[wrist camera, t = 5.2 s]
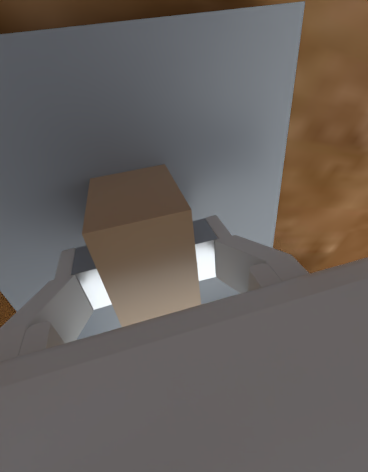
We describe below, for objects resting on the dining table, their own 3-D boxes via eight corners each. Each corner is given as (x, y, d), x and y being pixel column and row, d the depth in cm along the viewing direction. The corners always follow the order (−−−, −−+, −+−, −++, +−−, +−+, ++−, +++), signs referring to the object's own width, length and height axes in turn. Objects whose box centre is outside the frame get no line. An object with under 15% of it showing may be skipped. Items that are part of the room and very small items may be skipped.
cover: (-156, 56, 7) (-493, 43, 3) (287, 6, 9) (429, -40, 5) (50, 335, 15) (30, 430, 11) (259, 277, 17) (305, 341, 13)
